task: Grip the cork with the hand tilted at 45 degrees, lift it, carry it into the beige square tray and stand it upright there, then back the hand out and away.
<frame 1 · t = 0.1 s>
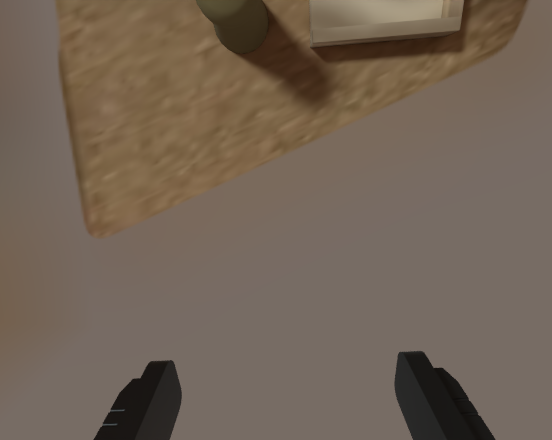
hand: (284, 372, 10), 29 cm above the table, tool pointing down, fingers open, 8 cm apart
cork: (241, 22, 31), on the table
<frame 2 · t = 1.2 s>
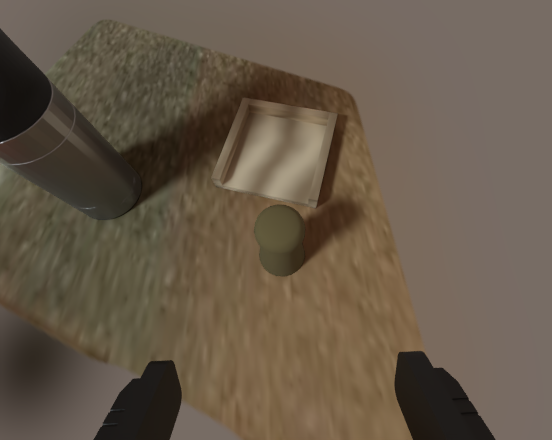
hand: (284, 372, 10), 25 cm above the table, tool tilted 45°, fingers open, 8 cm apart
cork: (281, 254, 38), on the table
beige square tray: (277, 154, 43), on the table
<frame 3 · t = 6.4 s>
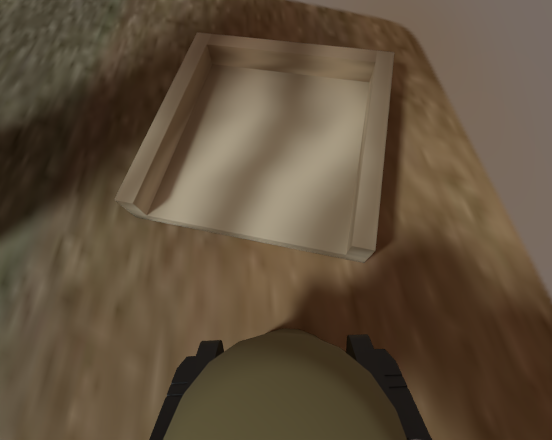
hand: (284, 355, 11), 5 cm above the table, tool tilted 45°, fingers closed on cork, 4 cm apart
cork: (289, 390, 15), on the table, touching gripper
beige square tray: (270, 143, 21), on the table
when the fingers open (7 cm above the table, at t = 12.2 s): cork drops 1 cm, resting on beige square tray.
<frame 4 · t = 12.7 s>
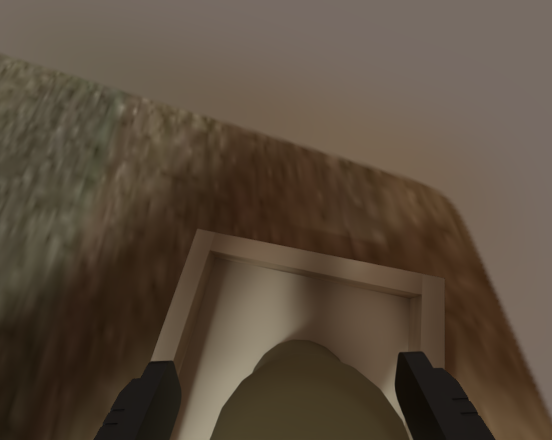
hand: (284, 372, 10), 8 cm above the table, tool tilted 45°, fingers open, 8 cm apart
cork: (300, 397, 16), point 1 cm above the table, touching beige square tray
beige square tray: (288, 384, 17), on the table
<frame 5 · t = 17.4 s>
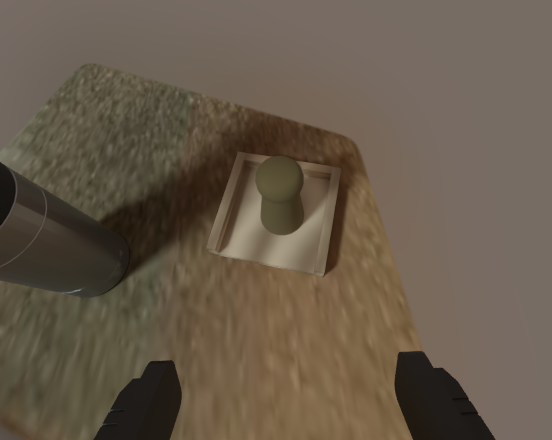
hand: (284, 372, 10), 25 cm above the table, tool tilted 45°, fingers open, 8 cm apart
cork: (282, 215, 39), point 1 cm above the table, touching beige square tray
beige square tray: (277, 213, 40), on the table
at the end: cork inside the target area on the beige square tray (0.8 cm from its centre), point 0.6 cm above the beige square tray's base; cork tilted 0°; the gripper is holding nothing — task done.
